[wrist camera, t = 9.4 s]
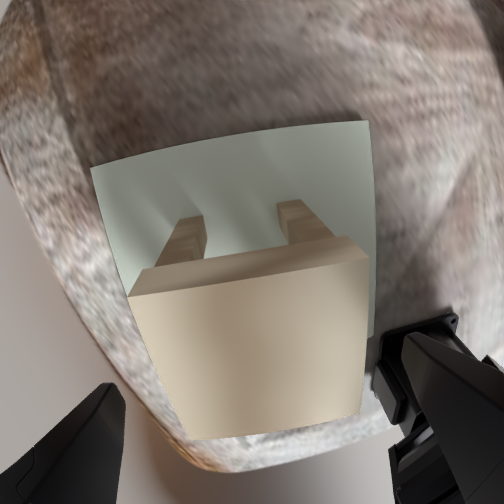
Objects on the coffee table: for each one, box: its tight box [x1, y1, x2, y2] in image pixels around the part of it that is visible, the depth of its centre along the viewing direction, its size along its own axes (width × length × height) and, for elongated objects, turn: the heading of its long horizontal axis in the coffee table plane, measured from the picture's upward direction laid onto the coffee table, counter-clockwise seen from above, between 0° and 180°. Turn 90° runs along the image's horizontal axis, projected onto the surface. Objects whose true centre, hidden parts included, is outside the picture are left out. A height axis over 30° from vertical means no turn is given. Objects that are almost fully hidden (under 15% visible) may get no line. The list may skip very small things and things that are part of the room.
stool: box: [127, 199, 369, 440], centre depth 13 cm, size 6×6×8 cm
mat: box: [90, 120, 376, 338], centre depth 17 cm, size 14×13×1 cm
